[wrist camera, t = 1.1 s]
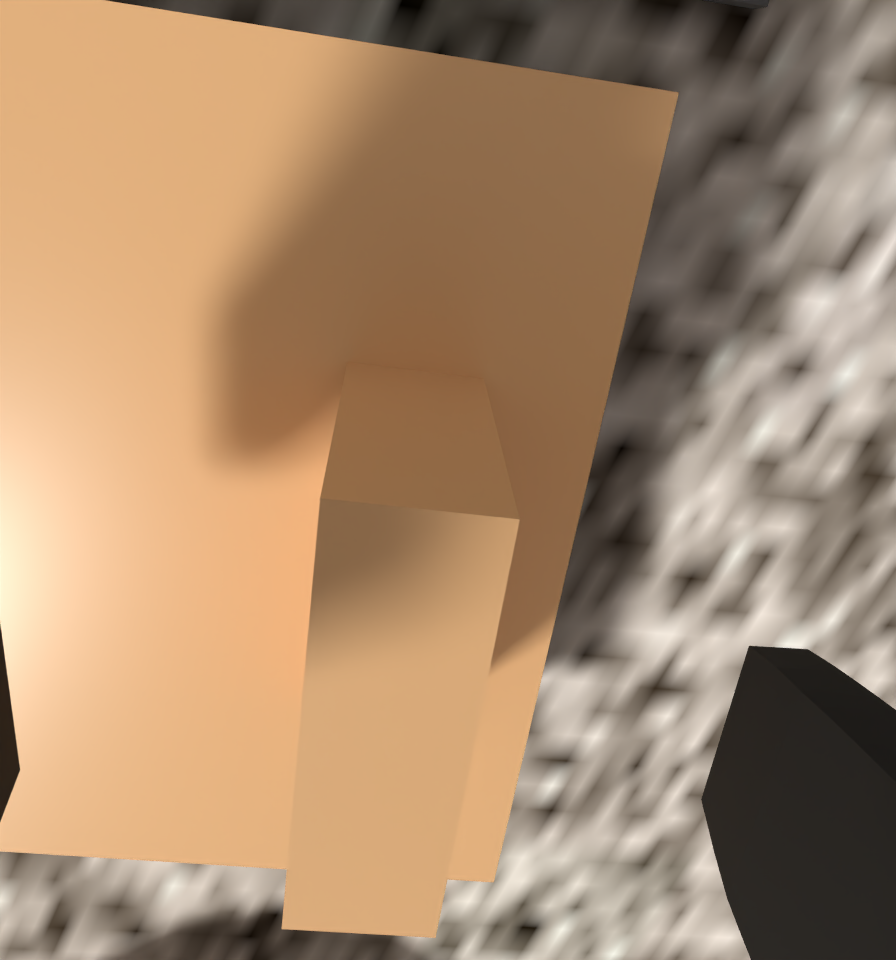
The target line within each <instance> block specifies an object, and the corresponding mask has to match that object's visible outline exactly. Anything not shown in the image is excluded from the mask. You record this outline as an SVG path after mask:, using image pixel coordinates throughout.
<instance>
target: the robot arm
mask: <svg viewBox="0 0 896 960" xmlns="http://www.w3.org/2000/svg"><path fill="white" fill-rule="evenodd" d="M19 772H20V764H19V757H18V750H17V742H16V735H15V727H14V720H13V713H12V705H11V698H10V690H9V683H8V676H7V668H6V661H5V654H4V646H3V639H2V631H1V624H0V822H1V819H2V816H3V814H4V811H5V809H6V806H7V803H8V801H9V798H10V795H11V793H12V790H13V788H14V785H15V782H16V780H17V777H18V774H19ZM701 800H702V804H703V808H704V812H705V816H706V820H707V824H708V828H709V832H710V836H711V841H712V845H713V849H714V853H715V856H716V860H717V863H718V867H719V871H720V874H721V878H722V881H723V885H724V888H725V892H726V896H727V899H728V902H729V904H730V907H731V909H732V912H733V915H734V917H735V920H736V923H737V925H738V928H739V930H740V933H741V935H742V938H743V940H744V943H745V945H746V948H747V950H748V953H749V956H750V958H751V960H896V710H895V709H894V708H892V707H891V706H890V705H888V704H887V703H885V702H884V701H883V700H881V699H880V698H879V697H877V696H876V695H874V694H873V693H872V692H870V691H869V690H867V689H866V688H865V687H863V686H862V685H861V684H859V683H858V682H856V681H855V680H854V679H852V678H851V677H849V676H848V675H846V674H845V673H844V672H842V671H841V670H839V669H838V668H836V667H835V666H833V665H832V664H830V663H829V662H827V661H826V660H824V659H822V658H821V657H819V656H818V655H816V654H814V653H813V652H811V651H809V650H808V649H792V648H776V647H759V646H749V648H748V651H747V654H746V657H745V661H744V664H743V667H742V670H741V674H740V677H739V680H738V683H737V686H736V690H735V693H734V696H733V699H732V703H731V706H730V709H729V712H728V715H727V719H726V722H725V725H724V728H723V731H722V735H721V738H720V741H719V744H718V748H717V751H716V754H715V757H714V760H713V764H712V767H711V770H710V773H709V777H708V780H707V783H706V786H705V789H704V793H703V796H702V799H701Z"/></svg>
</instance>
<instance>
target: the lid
mask: <svg viewBox="0 0 896 960" xmlns="http://www.w3.org/2000/svg"><path fill="white" fill-rule="evenodd" d="M678 94H679V93H678V92H672V91H666V90H660V89H654V88H647V87H641V86H635V85H629V84H622V83H616V82H610V81H604V80H598V79H591V78H585V77H579V76H573V75H566V74H560V73H554V72H548V71H542V70H535V69H529V68H523V67H517V66H510V65H504V64H498V63H492V62H486V61H479V60H473V59H467V58H461V57H454V56H448V55H442V54H436V53H430V52H423V51H417V50H411V49H405V48H398V47H392V46H386V45H380V44H374V43H367V42H361V41H355V40H349V39H342V38H336V37H330V36H324V35H318V34H311V33H305V32H299V31H293V30H286V29H280V28H274V27H268V26H262V25H255V24H249V23H243V22H237V21H230V20H224V19H218V18H212V17H206V16H199V15H193V14H187V13H181V12H174V11H168V10H162V9H156V8H150V7H143V6H137V5H131V4H125V3H118V2H112V1H106V0H0V624H1V631H2V639H3V646H4V654H5V661H6V668H7V676H8V683H9V690H10V698H11V705H12V713H13V720H14V727H15V735H16V742H17V750H18V757H19V764H20V772H19V774H18V777H17V780H16V782H15V785H14V788H13V790H12V793H11V795H10V798H9V801H8V803H7V806H6V809H5V811H4V814H3V816H2V819H1V822H0V851H4V852H20V853H36V854H52V855H68V856H84V857H99V858H115V859H131V860H147V861H163V862H179V863H195V864H211V865H227V866H243V867H259V868H275V869H287V875H286V886H285V897H284V908H283V919H282V929H289V930H307V931H325V932H343V933H361V934H379V935H396V936H414V937H432V938H436V933H437V928H438V923H439V918H440V913H441V908H442V903H443V898H444V893H445V888H446V883H447V879H450V880H465V881H481V882H494V879H495V875H496V870H497V866H498V862H499V857H500V853H501V849H502V845H503V840H504V836H505V832H506V828H507V823H508V819H509V815H510V811H511V806H512V802H513V798H514V794H515V789H516V785H517V781H518V776H519V772H520V768H521V764H522V759H523V755H524V751H525V747H526V742H527V738H528V734H529V730H530V725H531V721H532V717H533V713H534V708H535V704H536V700H537V695H538V691H539V687H540V683H541V678H542V674H543V670H544V666H545V661H546V657H547V653H548V649H549V644H550V640H551V636H552V631H553V627H554V623H555V619H556V614H557V610H558V606H559V602H560V597H561V593H562V589H563V585H564V580H565V576H566V572H567V568H568V563H569V559H570V555H571V550H572V546H573V542H574V538H575V533H576V529H577V525H578V521H579V516H580V512H581V508H582V504H583V499H584V495H585V491H586V487H587V482H588V478H589V474H590V469H591V465H592V461H593V457H594V452H595V448H596V444H597V440H598V435H599V431H600V427H601V423H602V418H603V414H604V410H605V405H606V401H607V397H608V393H609V388H610V384H611V380H612V376H613V371H614V367H615V363H616V359H617V354H618V350H619V346H620V342H621V337H622V333H623V329H624V324H625V320H626V316H627V312H628V307H629V303H630V299H631V295H632V290H633V286H634V282H635V278H636V273H637V269H638V265H639V261H640V256H641V252H642V248H643V243H644V239H645V235H646V231H647V226H648V222H649V218H650V214H651V209H652V205H653V201H654V197H655V192H656V188H657V184H658V180H659V175H660V171H661V167H662V162H663V158H664V154H665V150H666V145H667V141H668V137H669V133H670V128H671V124H672V120H673V116H674V111H675V107H676V103H677V98H678Z"/></svg>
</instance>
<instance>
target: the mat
mask: <svg viewBox="0 0 896 960" xmlns="http://www.w3.org/2000/svg"><path fill="white" fill-rule="evenodd" d="M704 1H710V2H716V3H722V4H728V5H733V6H739V7H745V8H751V9H756V8H761V7H767V6H768V3H769V0H704Z"/></svg>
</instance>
